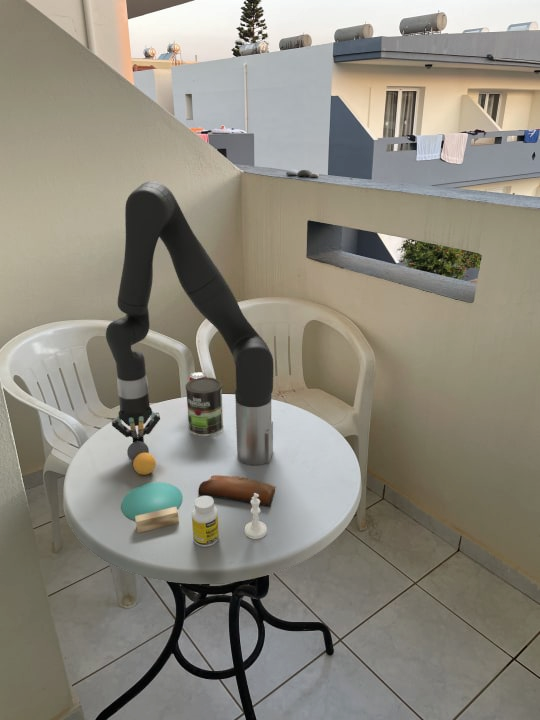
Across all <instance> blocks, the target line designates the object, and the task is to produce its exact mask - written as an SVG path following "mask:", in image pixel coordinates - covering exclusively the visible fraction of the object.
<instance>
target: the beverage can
mask: <svg viewBox="0 0 540 720" xmlns="http://www.w3.org/2000/svg"><path fill="white" fill-rule="evenodd" d="M203 377H207V375H206V373H204V372H201V371H200V372H199V371H198V372H197V371H195V372H193V373H190V376H189V381H191V380H193V379H196V378H203Z"/></svg>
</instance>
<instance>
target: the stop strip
mask: <svg viewBox="0 0 540 720" xmlns="http://www.w3.org/2000/svg"><path fill="white" fill-rule="evenodd" d="M179 518H180V517H179V511H178V509H177V507H172V508H168V509H164V510H159V511H155V512H151V513H146V514H142V515H138V516H135V519H136V521H135V525H136V532H137V534H139V533H142V532H148V531H152V530H156V529H159V528H160V529H161V528H163V527H164V528H165V527H168V526H172V525H176V524H179V523H180V521H179V520H180V519H179Z"/></svg>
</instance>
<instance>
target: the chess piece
mask: <svg viewBox="0 0 540 720" xmlns="http://www.w3.org/2000/svg"><path fill="white" fill-rule="evenodd" d="M257 497H259V495H258V494H256V493H254V496H253V497H252V500H251V502H250V504H251V508H250V513H251V514H252V521H249V522H248V523H246V525H245V527H244V534H245V536H246V537H247V538H250V539H253V540H259V539H262V538H264V537H265V536H266V534H267V533H268V527H267V525H266V524H265V523H264V522H262V521H260V518H259V514H260V513H261V512H262V511H261V508H260V507H259V506H260V505H261V504H260V500H259V499H257Z"/></svg>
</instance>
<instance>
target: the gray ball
mask: <svg viewBox="0 0 540 720" xmlns="http://www.w3.org/2000/svg"><path fill="white" fill-rule="evenodd" d="M126 451H127V456H128V459H129V460H130V461H132V462H134V459H135V458H136V456H137V455H139V454H141V453H149V454H150V450H149V446H148V445H147V443H145V441H144V442H141V441H136V442H133V441H132V443H131V444H130V445H129V446H128V448H127V450H126Z"/></svg>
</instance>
